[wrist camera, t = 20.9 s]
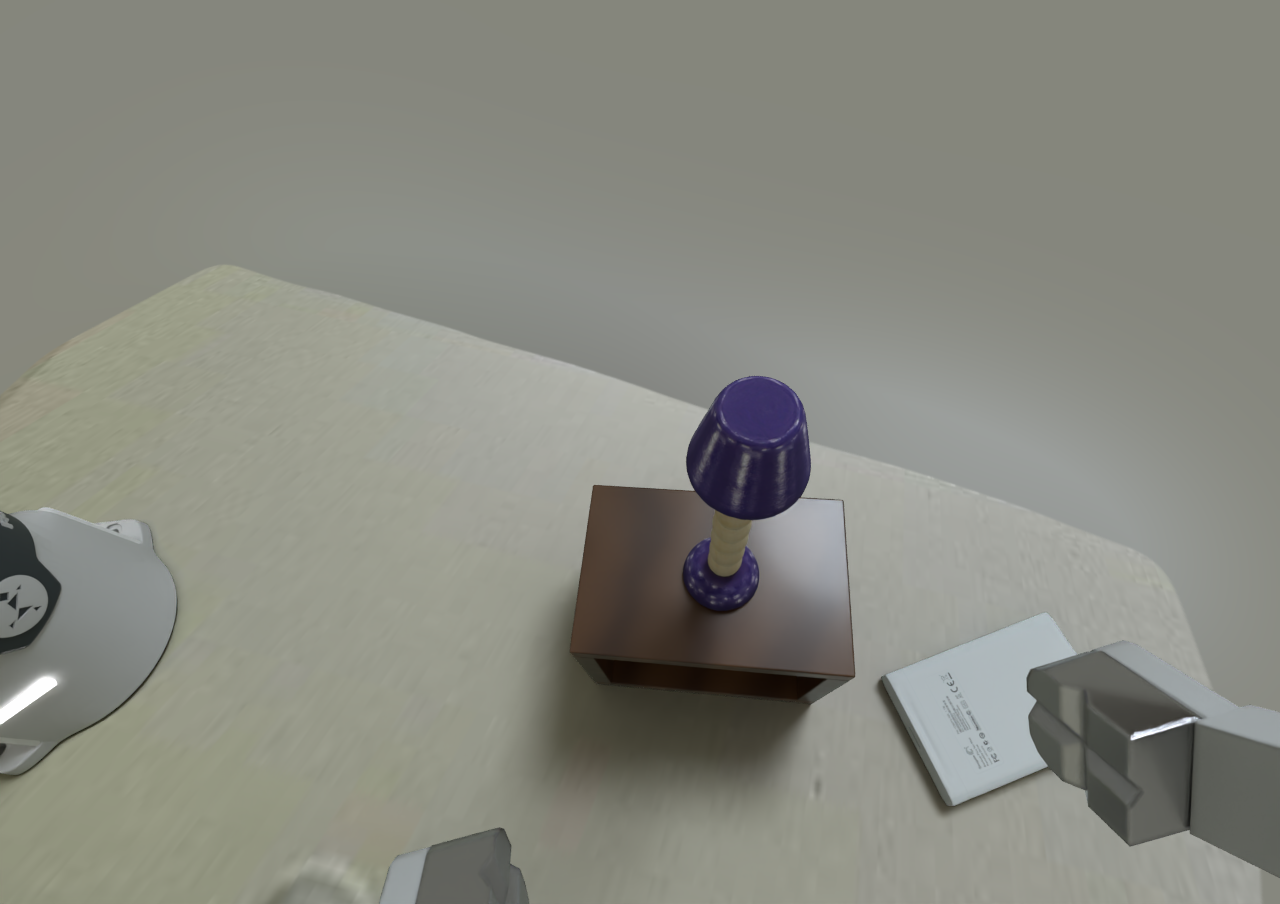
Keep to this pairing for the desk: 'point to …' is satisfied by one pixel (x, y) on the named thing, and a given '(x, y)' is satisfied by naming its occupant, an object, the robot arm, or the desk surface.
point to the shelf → (701, 637)
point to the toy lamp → (743, 482)
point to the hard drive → (977, 707)
